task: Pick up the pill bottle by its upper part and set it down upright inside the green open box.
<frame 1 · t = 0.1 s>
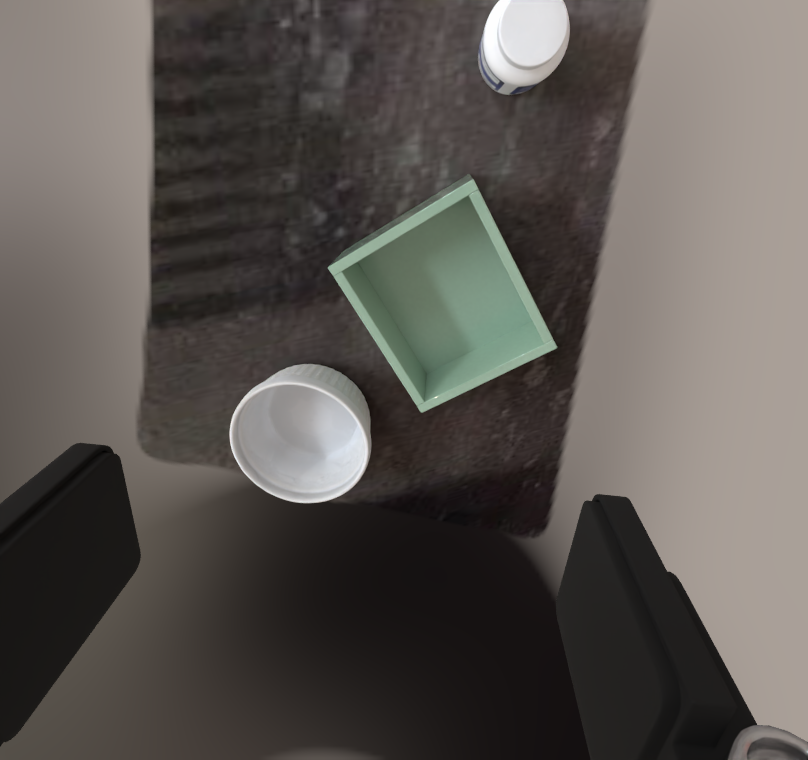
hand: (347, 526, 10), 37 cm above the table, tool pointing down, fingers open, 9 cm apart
ramekin: (316, 409, 52), on the table
green open box: (444, 285, 46), on the table
pill bottle: (513, 55, 38), on the table
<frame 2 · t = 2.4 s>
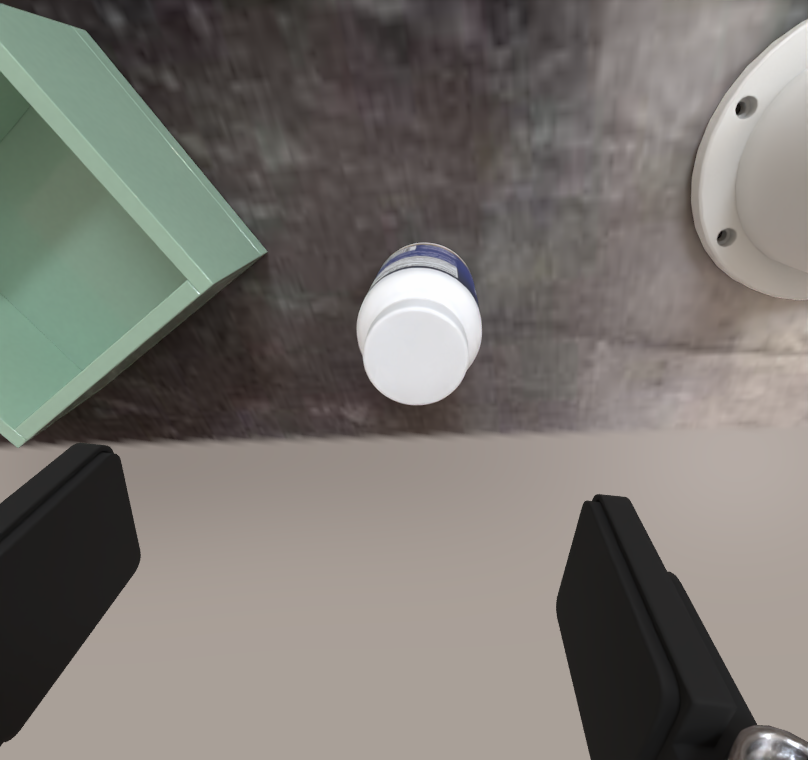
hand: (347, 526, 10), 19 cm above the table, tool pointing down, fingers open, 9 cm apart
green open box: (95, 236, 27), on the table
pill bottle: (425, 289, 28), on the table
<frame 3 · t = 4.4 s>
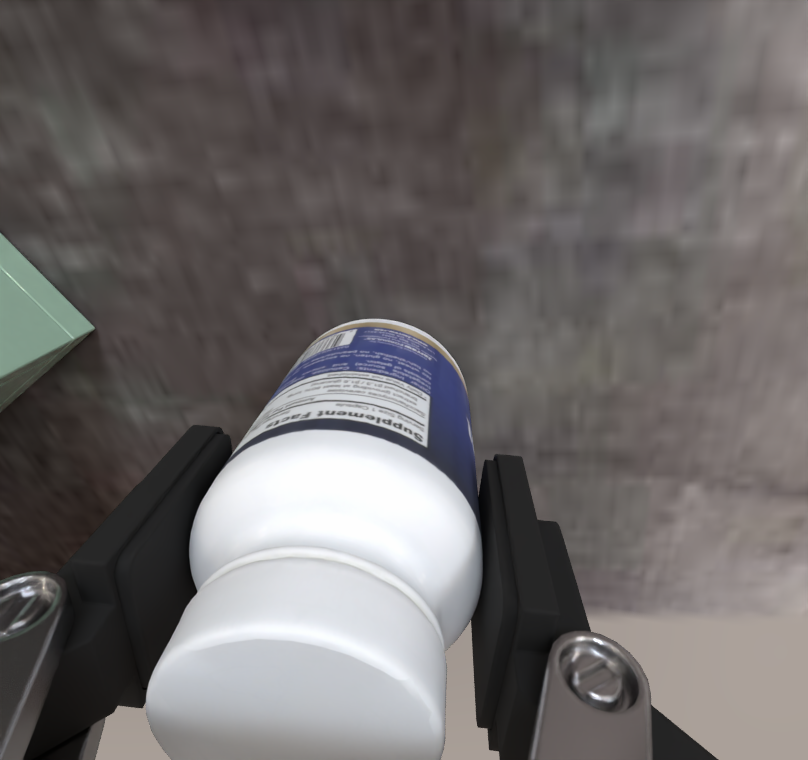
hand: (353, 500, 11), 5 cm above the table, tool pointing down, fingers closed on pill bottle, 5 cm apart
pill bottle: (381, 395, 15), on the table, touching gripper
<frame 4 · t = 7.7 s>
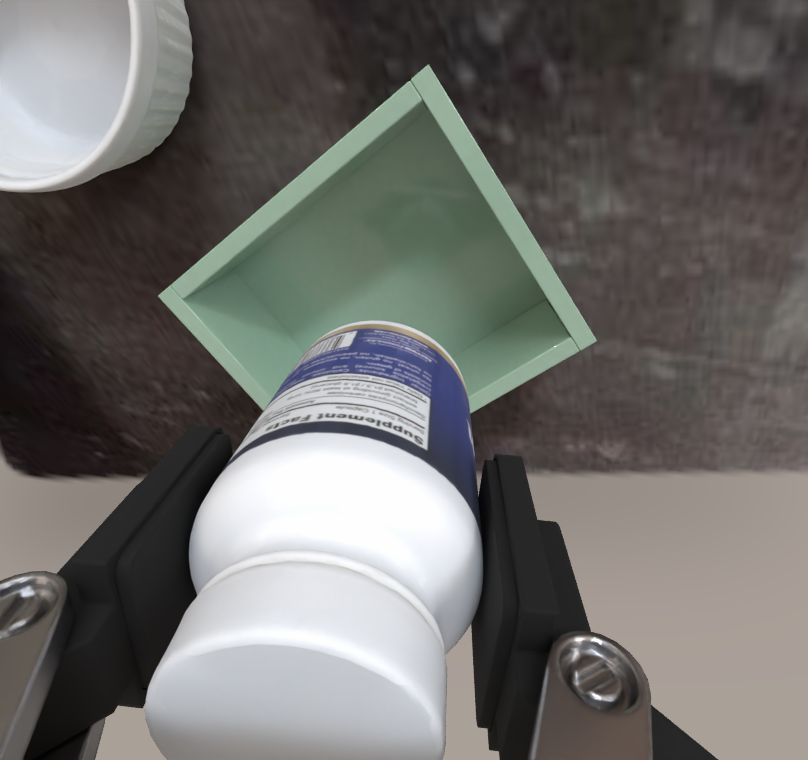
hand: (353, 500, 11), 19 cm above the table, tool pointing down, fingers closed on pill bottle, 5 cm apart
ramekin: (88, 36, 24), on the table
green open box: (390, 279, 28), on the table
pill bottle: (381, 396, 15), point 14 cm above the table, touching gripper
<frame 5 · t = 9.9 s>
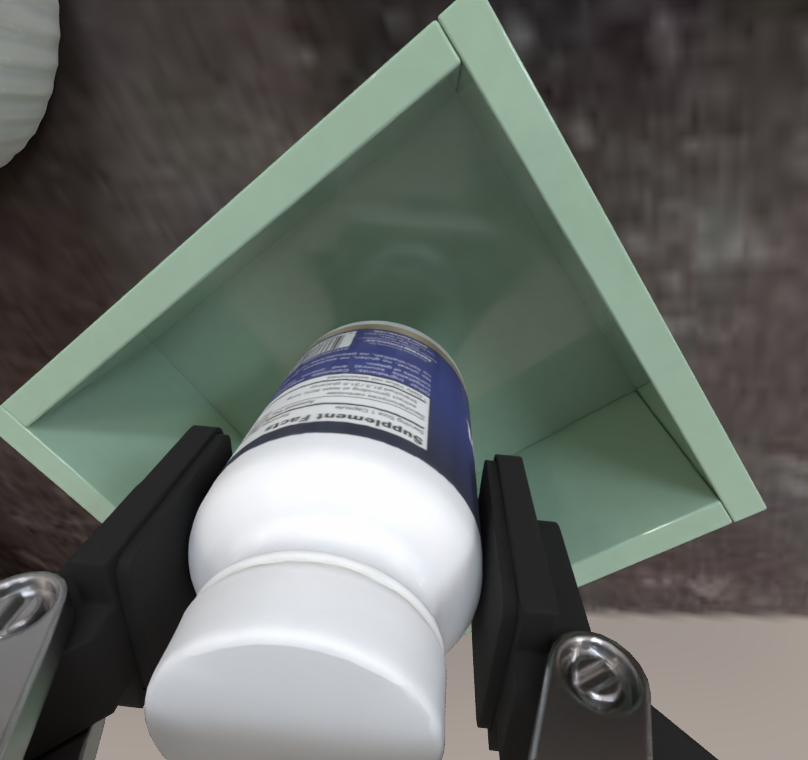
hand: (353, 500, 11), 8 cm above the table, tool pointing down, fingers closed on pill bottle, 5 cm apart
green open box: (392, 354, 18), on the table
pill bottle: (381, 396, 15), point 3 cm above the table, touching gripper
when the fingers open (6 cm above the table, at t = 11.2 s): pill bottle stays where it is, resting on green open box.
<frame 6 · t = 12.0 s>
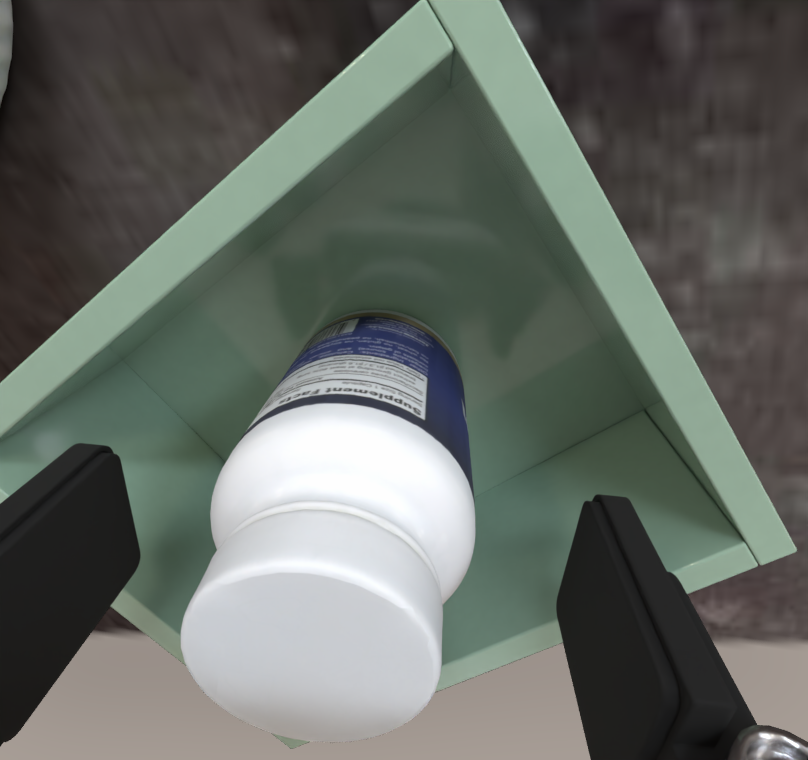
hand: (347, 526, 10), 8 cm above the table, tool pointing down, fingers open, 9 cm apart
green open box: (382, 371, 17), on the table
pill bottle: (381, 382, 16), point 1 cm above the table, touching green open box
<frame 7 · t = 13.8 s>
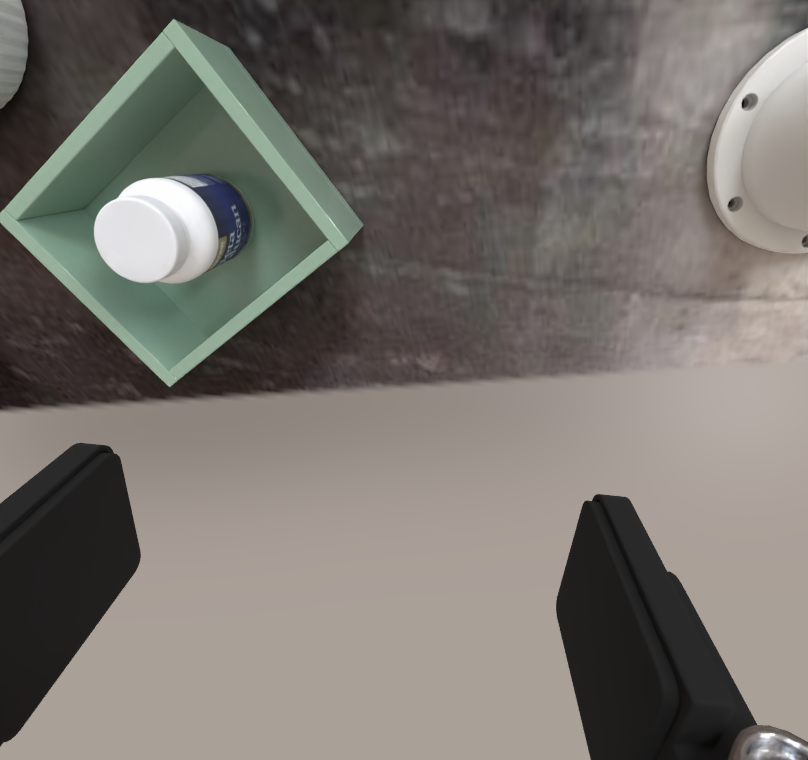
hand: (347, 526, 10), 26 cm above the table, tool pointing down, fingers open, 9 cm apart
green open box: (220, 215, 33), on the table
pill bottle: (216, 217, 33), point 1 cm above the table, touching green open box
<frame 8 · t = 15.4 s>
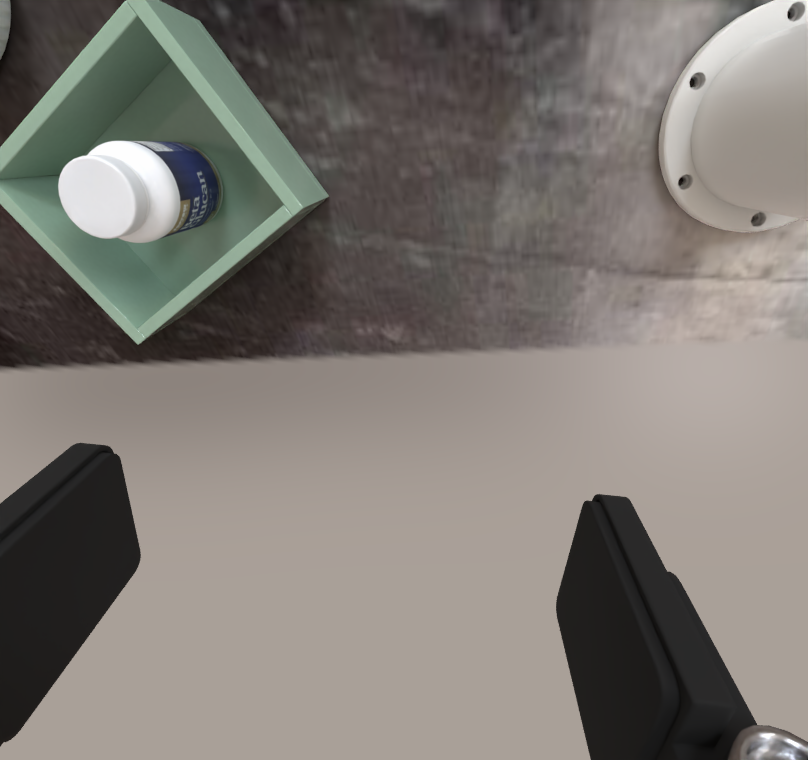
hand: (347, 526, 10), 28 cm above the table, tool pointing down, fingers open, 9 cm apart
green open box: (192, 183, 35), on the table
pill bottle: (188, 185, 34), point 1 cm above the table, touching green open box
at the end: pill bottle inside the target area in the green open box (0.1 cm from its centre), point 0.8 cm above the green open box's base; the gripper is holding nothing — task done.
